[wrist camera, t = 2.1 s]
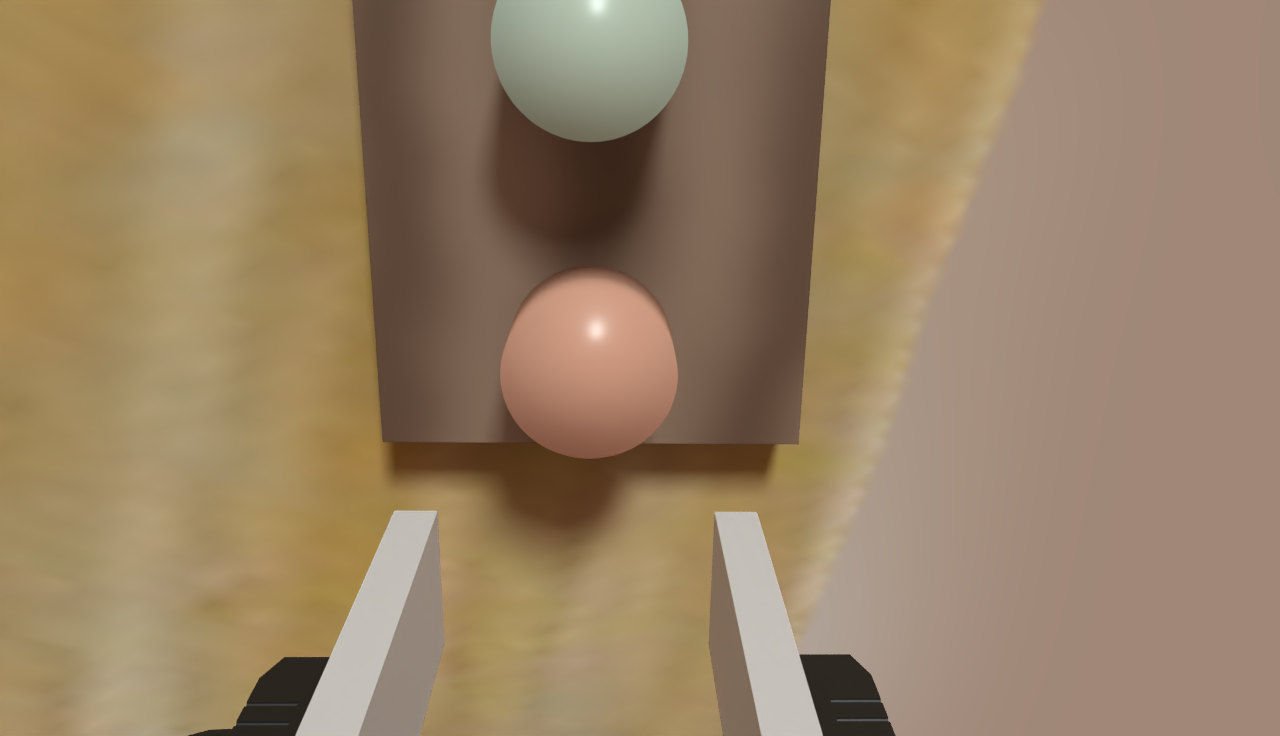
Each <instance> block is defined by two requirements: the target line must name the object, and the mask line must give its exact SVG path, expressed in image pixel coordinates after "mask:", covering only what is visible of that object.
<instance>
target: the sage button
mask: <svg viewBox="0 0 1280 736" xmlns="http://www.w3.org/2000/svg"><path fill="white" fill-rule="evenodd" d="M491 50H492V57H493V61H494V66H495V69H496V72H497V75H498V77H499V80H500V82H501V84H502V86H503V88H504V90H505V92H506V93H507V95H508V96H509V98H510V99H511V101H512V102H513V104H514V105H515V106H516V107H517V108H518V109H519V110H520V112H521V113H522V114H524V115H525V116H526V117H527V118H528V119H529V120H530V121H532V122H533V123H534V124H536V125H537V126H539V127H540V128H542V129H544V130H546V131H548V132H550V133H551V134H554V135H556V136H559V137H562V138H565V139H569V140H574V141H581V142H602V141H608V140H613V139H617V138H620V137H623V136H626V135H628V134H630V133H632V132H634V131H636V130H638V129H640V128H641V127H643V126H644V125H646V124H647V123H649V122H650V121H651V120H652V119H653V118H654V117H656V116H657V115H658V114H659V113H660V112H661V110H662V109H663V108H664V107H665V106H666V105H667V103H668V102H669V100H670V99H671V97H672V96H673V94H674V93H675V91H676V89H677V87H678V85H679V83H680V80H681V77H682V75H683V72H684V68H685V64H686V59H687V52H688V27H687V21H686V15H685V12H684V8H683V5H682V2H681V0H497V2H496V5H495V9H494V12H493V18H492V24H491Z"/></svg>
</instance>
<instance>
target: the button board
mask: <svg viewBox="0 0 1280 736" xmlns="http://www.w3.org/2000/svg"><path fill="white" fill-rule="evenodd" d="M496 2H497V0H353V14H354V28H355V43H356V58H357V72H358V87H359V101H360V116H361V131H362V145H363V160H364V174H365V189H366V204H367V218H368V233H369V247H370V262H371V277H372V291H373V306H374V321H375V335H376V350H377V364H378V379H379V394H380V408H381V423H382V437H383V442H490V443H537V442H535V441H534V440H533V439H532V438H530V437H529V436H528V435H527V434H526V433H525V432H524V431H523V430H522V429H521V428H520V427H519V426H518V424H517V423H516V421H515V420H514V419H513V417H512V415H511V414H510V412H509V410H508V408H507V405H506V403H505V400H504V397H503V393H502V389H501V381H500V366H501V360H502V355H503V352H504V348H505V345H506V342H507V339H508V336H509V333H510V330H511V327H512V324H513V321H514V318H515V315H516V313H517V311H518V309H519V307H520V305H521V303H522V302H523V300H524V299H525V297H526V296H527V295H528V294H529V293H530V292H531V291H532V289H533V288H535V287H536V286H537V285H538V284H539V283H541V282H542V281H543V280H545V279H547V278H548V277H550V276H552V275H554V274H556V273H558V272H560V271H564V270H567V269H570V268H575V267H581V266H599V267H606V268H611V269H614V270H617V271H620V272H623V273H625V274H627V275H629V276H631V277H633V278H635V279H636V280H638V281H639V282H641V283H642V284H643V285H644V286H645V287H646V288H648V289H649V290H650V291H651V292H652V294H653V295H654V296H655V297H656V298H657V300H658V301H659V303H660V304H661V306H662V307H663V310H664V312H665V314H666V316H667V319H668V322H669V325H670V329H671V335H672V340H673V345H674V350H675V356H676V361H677V367H678V382H677V390H676V394H675V398H674V401H673V404H672V406H671V409H670V411H669V413H668V415H667V416H666V418H665V420H664V421H663V422H662V424H661V425H660V426H659V428H658V429H657V430H656V431H655V432H654V433H653V434H652V435H651V436H650V437H648V438H647V439H646V440H645V441H643V442H642V443H664V444H798V443H799V429H800V415H801V401H802V387H803V374H804V360H805V346H806V332H807V319H808V305H809V291H810V277H811V264H812V250H813V236H814V222H815V209H816V195H817V181H818V167H819V154H820V140H821V126H822V112H823V99H824V85H825V71H826V57H827V44H828V30H829V16H830V2H831V0H681V2H682V5H683V8H684V12H685V15H686V21H687V27H688V52H687V59H686V64H685V68H684V72H683V75H682V77H681V80H680V83H679V85H678V87H677V89H676V91H675V93H674V94H673V96H672V97H671V99H670V100H669V102H668V103H667V105H666V106H665V107H664V108H663V109H662V110H661V112H660V113H659V114H658V115H657V116H656V117H654V118H653V119H652V120H651V121H650V122H649V123H647V124H646V125H644V126H643V127H641V128H640V129H638V130H636V131H634V132H632V133H630V134H628V135H626V136H623V137H620V138H617V139H613V140H608V141H602V142H581V141H574V140H569V139H565V138H562V137H559V136H556V135H554V134H551V133H550V132H548V131H546V130H544V129H542V128H540V127H539V126H537V125H536V124H534V123H533V122H532V121H530V120H529V119H528V118H527V117H526V116H525V115H524V114H522V113H521V112H520V110H519V109H518V108H517V107H516V106H515V105H514V104H513V102H512V101H511V99H510V98H509V96H508V95H507V93H506V92H505V90H504V88H503V86H502V84H501V82H500V80H499V77H498V75H497V72H496V69H495V66H494V61H493V57H492V50H491V24H492V18H493V12H494V9H495V5H496Z"/></svg>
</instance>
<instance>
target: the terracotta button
mask: <svg viewBox="0 0 1280 736" xmlns="http://www.w3.org/2000/svg"><path fill="white" fill-rule="evenodd" d="M500 381H501V389H502V393H503V397H504V400H505V403H506V405H507V408H508V410H509V412H510V414H511V415H512V417H513V419H514V420H515V421H516V423H517V424H518V426H519V427H520V428H521V429H522V430H523V431H524V432H525V433H526V434H527V435H528V436H529V437H530V438H532V439H533V440H534V441H535V442H537V443H538V444H540V445H542V446H543V447H545V448H547V449H549V450H551V451H553V452H556V453H559V454H562V455H565V456H569V457H575V458H584V459H595V458H604V457H610V456H614V455H617V454H620V453H623V452H626V451H628V450H630V449H632V448H634V447H636V446H637V445H639V444H641V443H642V442H643V441H645V440H646V439H647V438H648V437H650V436H651V435H652V434H653V433H654V432H655V431H656V430H657V429H658V428H659V426H660V425H661V424H662V422H663V421H664V420H665V418H666V416H667V415H668V413H669V411H670V409H671V406H672V404H673V401H674V398H675V394H676V390H677V382H678V367H677V361H676V356H675V350H674V345H673V340H672V335H671V329H670V325H669V322H668V319H667V316H666V314H665V312H664V310H663V307H662V306H661V304H660V303H659V301H658V300H657V298H656V297H655V296H654V295H653V294H652V292H651V291H650V290H649V289H648V288H646V287H645V286H644V285H643V284H642V283H641V282H639V281H638V280H636V279H635V278H633V277H631V276H629V275H627V274H625V273H623V272H620V271H617V270H614V269H611V268H606V267H599V266H581V267H575V268H570V269H567V270H564V271H560V272H558V273H556V274H554V275H552V276H550V277H548V278H547V279H545V280H543V281H542V282H541V283H539V284H538V285H537V286H536V287H535V288H533V289H532V291H531V292H530V293H529V294H528V295H527V296H526V297H525V299H524V300H523V302H522V303H521V305H520V307H519V309H518V311H517V313H516V315H515V318H514V321H513V324H512V327H511V330H510V333H509V336H508V339H507V342H506V345H505V348H504V352H503V355H502V360H501V366H500Z"/></svg>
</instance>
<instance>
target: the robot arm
mask: <svg viewBox="0 0 1280 736" xmlns="http://www.w3.org/2000/svg"><path fill="white" fill-rule="evenodd" d="M443 647H444V627H443V607H442V588H441V568H440V549H439V529H438V511H394V513H393V515H392V517H391V520H390V522H389V524H388V526H387V529H386V531H385V533H384V536H383V538H382V540H381V542H380V545H379V547H378V549H377V551H376V554H375V556H374V558H373V560H372V563H371V565H370V567H369V570H368V572H367V574H366V576H365V579H364V581H363V583H362V585H361V588H360V590H359V592H358V595H357V597H356V599H355V601H354V604H353V606H352V608H351V610H350V613H349V615H348V617H347V619H346V622H345V624H344V626H343V629H342V631H341V633H340V635H339V638H338V640H337V642H336V644H335V647H334V649H333V651H332V654H331V656H330V657H284V658H283V659H282V660H281V661H280V662H278V663H277V664H276V665H275V666H274V667H272V668H271V669H270V670H269V671H268V672H266V673H265V674H264V675H263V676H262V677H260V678H259V680H258V682H257V684H256V686H255V688H254V689H253V691H252V693H251V695H250V697H249V699H248V701H247V706H246V707H244V708H243V710H242V712H241V714H240V716H239V718H238V719H237V721H236V722H237V723H236V726H234V727H233V729H220V730H208V731H204V732H200V733H196V734H193V735H189V736H420V733H421V729H422V725H423V722H424V718H425V714H426V710H427V707H428V703H429V699H430V695H431V692H432V688H433V684H434V680H435V677H436V673H437V669H438V666H439V662H440V658H441V654H442V651H443ZM709 649H710V655H711V662H712V668H713V674H714V681H715V687H716V694H717V700H718V707H719V713H720V719H721V726H722V732H723V736H895V734H894V731H893V728H892V726H891V723H890V722H888V716H887V713H886V711H885V709H884V706H883V703H881V700H880V696H879V693H878V691H877V688H876V686H875V683H874V681H873V678H872V676H871V674H870V673H869V672H868V671H867V670H866V669H864V668H863V667H862V666H861V665H860V664H859V663H858V662H857V661H856V660H855V659H854V658H853V657H852V656H851V655H799V653H798V649H797V646H796V643H795V639H794V636H793V632H792V629H791V626H790V622H789V619H788V615H787V612H786V609H785V605H784V602H783V599H782V595H781V592H780V588H779V585H778V582H777V578H776V575H775V571H774V568H773V565H772V561H771V558H770V555H769V551H768V548H767V544H766V541H765V538H764V534H763V531H762V527H761V524H760V521H759V517H758V514H757V512H715V515H714V537H713V559H712V581H711V603H710V626H709Z"/></svg>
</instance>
